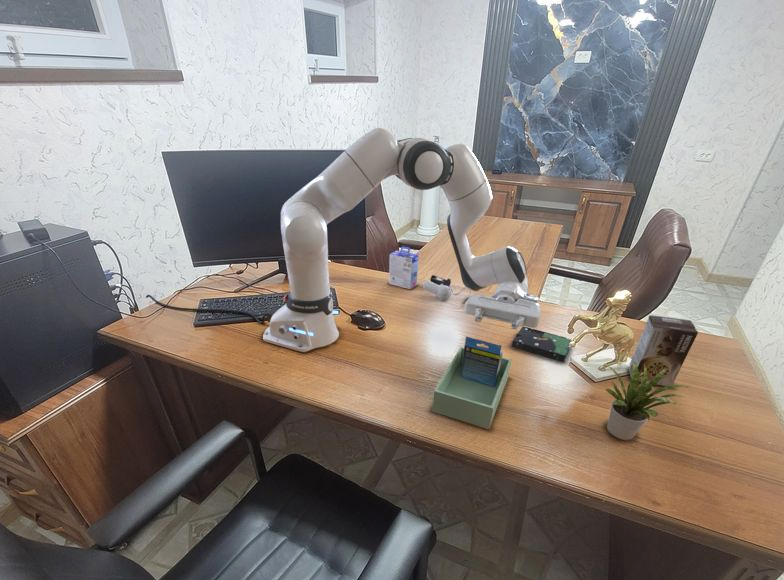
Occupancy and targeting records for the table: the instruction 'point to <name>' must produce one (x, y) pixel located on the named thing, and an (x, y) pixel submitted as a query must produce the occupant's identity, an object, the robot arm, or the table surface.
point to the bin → (469, 394)
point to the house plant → (635, 403)
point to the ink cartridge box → (403, 268)
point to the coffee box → (663, 348)
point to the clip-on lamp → (440, 287)
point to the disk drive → (542, 344)
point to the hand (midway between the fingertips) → (495, 323)
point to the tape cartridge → (481, 361)
